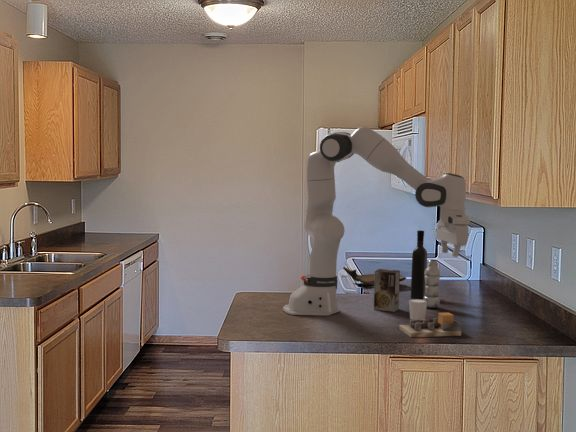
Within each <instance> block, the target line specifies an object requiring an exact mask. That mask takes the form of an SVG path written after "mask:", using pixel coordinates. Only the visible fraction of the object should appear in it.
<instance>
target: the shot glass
mask: <svg viewBox="0 0 576 432" xmlns="http://www.w3.org/2000/svg"><path fill="white" fill-rule="evenodd" d="M408 305H409V306H408V308H409V319H410V320H416V321H423V320H424V319H426V314H427V307H426V306H427V301H425V300H423V299H414V298H410V299H408Z"/></svg>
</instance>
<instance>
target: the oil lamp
mask: <svg viewBox="0 0 576 432" xmlns="http://www.w3.org/2000/svg"><path fill="white" fill-rule="evenodd" d="M343 270H344V271H345V273H347V274H348V275H349V276H350V278H351V279H353V281H355V282H360V283H362V284H364V285H366V286H370V287H373V288H374V285H375V273H368V274H367V273H366V274H357V269H349V268H348V267H345V266H344V267H343ZM405 280H407V277H405V275H401V274H400V280H399V283H400V282H403V281H405Z"/></svg>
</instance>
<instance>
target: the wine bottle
mask: <svg viewBox="0 0 576 432" xmlns="http://www.w3.org/2000/svg"><path fill="white" fill-rule="evenodd" d="M416 233H417V234H416V236H417V237H416V241H417V242H416V247H415V248H414V249H413V251H412V256H411V258H412V259H411V274H410V275H411V281H410V299H421V300H423V299H424V294H425V276H424V272H425V269H426V268H427V267H428V251H427V249H426V248H425V247H424V238H425V230H420V229H419V230H417V231H416Z"/></svg>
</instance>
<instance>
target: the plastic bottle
mask: <svg viewBox="0 0 576 432" xmlns="http://www.w3.org/2000/svg"><path fill="white" fill-rule="evenodd" d="M424 276H425V294H424V298H423V299H422V300H425V301H427V306H426V308H430V309H436V308H438V307H439V305H440V303H441V301H440V294H439V290H440V289H439V286H440V285H439V284H440V279H441V270H440V269H439V267H438V259H427V268H426V269H425V272H424Z"/></svg>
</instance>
